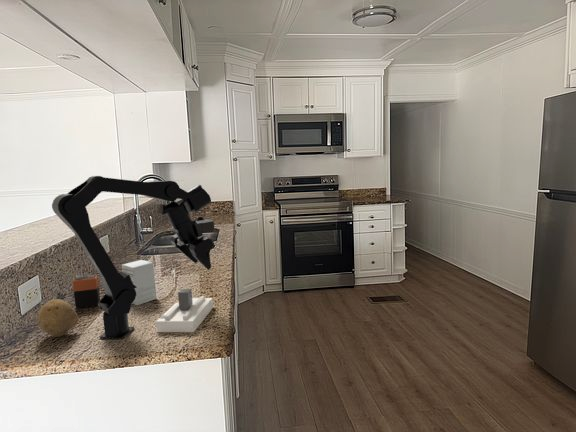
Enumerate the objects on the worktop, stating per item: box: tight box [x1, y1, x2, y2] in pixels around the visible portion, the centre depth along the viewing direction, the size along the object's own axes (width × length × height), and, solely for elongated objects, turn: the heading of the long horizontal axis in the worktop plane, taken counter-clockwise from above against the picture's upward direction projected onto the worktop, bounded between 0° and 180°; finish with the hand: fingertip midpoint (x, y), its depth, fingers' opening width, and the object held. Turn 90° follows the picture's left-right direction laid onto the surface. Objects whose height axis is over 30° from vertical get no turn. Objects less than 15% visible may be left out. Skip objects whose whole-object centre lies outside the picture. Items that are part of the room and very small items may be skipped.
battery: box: [72, 274, 101, 309], centre depth 131 cm, size 4×7×10 cm, turn 108°
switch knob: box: [177, 288, 193, 310], centre depth 115 cm, size 3×3×5 cm
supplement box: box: [121, 259, 158, 306], centre depth 133 cm, size 7×7×13 cm
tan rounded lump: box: [36, 298, 79, 338], centre depth 107 cm, size 9×9×10 cm
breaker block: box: [155, 295, 214, 333], centre depth 115 cm, size 18×10×4 cm, turn 174°
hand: (202, 265), depth 123 cm, fingers open, 9 cm apart
